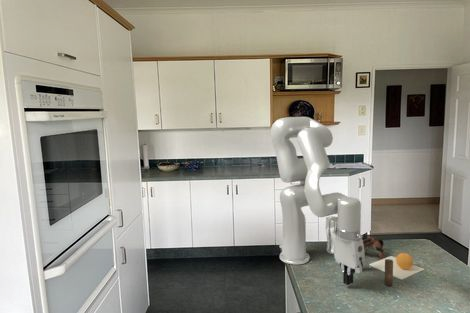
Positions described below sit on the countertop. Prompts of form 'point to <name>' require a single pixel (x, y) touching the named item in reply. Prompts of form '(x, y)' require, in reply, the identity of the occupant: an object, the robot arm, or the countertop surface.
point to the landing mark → (397, 268)
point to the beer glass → (331, 233)
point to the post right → (388, 273)
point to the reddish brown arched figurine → (377, 242)
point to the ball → (404, 261)
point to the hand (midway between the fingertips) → (348, 283)
